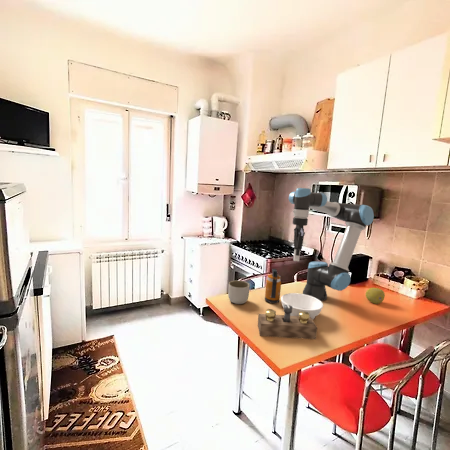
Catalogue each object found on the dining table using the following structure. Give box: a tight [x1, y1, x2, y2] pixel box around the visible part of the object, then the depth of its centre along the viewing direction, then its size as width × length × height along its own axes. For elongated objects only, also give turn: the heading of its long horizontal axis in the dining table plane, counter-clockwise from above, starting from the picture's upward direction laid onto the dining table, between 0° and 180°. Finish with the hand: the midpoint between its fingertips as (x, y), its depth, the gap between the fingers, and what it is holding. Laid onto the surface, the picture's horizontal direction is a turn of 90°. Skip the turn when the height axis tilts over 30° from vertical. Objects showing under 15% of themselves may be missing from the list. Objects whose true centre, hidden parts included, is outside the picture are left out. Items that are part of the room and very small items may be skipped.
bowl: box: [280, 292, 324, 321], centre depth 149 cm, size 22×22×8 cm
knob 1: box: [264, 309, 277, 321], centre depth 130 cm, size 5×5×9 cm
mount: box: [257, 313, 318, 340], centre depth 130 cm, size 26×10×6 cm, turn 89°
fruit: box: [365, 287, 385, 305], centre depth 173 cm, size 10×11×10 cm
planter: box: [227, 280, 251, 305], centre depth 162 cm, size 12×12×11 cm
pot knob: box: [283, 305, 292, 322], centre depth 129 cm, size 4×4×10 cm
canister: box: [264, 268, 282, 304], centre depth 164 cm, size 9×11×20 cm
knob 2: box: [299, 311, 310, 324], centre depth 130 cm, size 5×5×9 cm
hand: (296, 260), depth 146 cm, fingers closed
